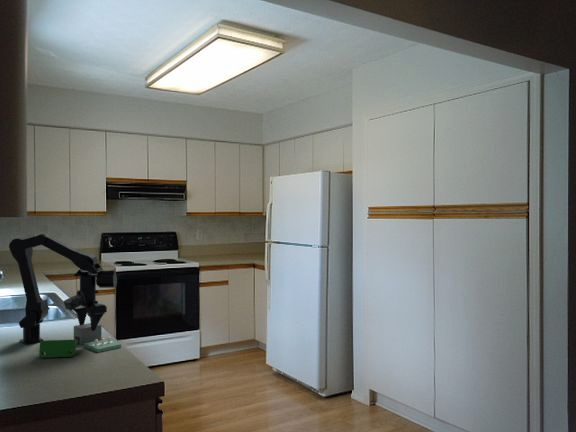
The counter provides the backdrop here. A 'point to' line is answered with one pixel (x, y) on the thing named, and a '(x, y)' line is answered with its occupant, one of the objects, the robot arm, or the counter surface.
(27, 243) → the robot arm
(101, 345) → the pin board
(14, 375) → the counter surface
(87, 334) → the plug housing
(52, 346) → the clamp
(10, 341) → the counter surface
